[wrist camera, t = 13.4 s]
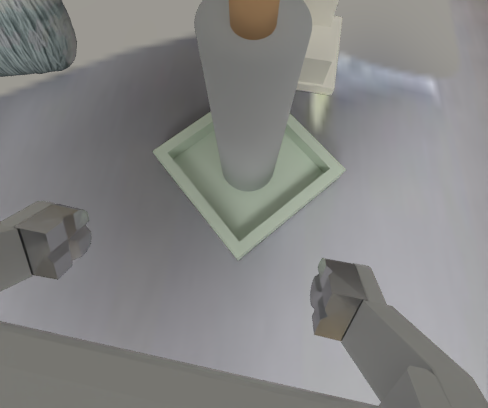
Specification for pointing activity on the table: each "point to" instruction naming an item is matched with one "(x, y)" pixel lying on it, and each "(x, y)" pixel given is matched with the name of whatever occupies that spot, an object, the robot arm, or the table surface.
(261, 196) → the tray
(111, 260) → the table surface
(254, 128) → the gray bottle
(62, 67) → the grey furry rounded block
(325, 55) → the white toy chair
